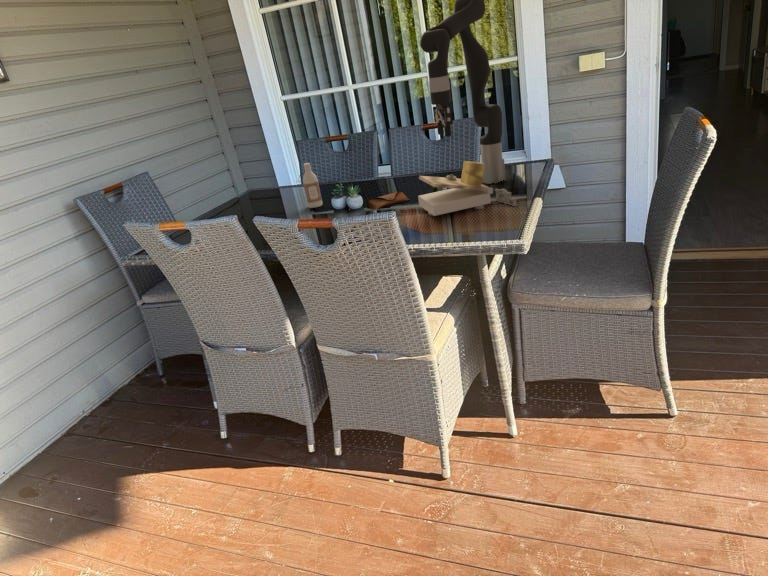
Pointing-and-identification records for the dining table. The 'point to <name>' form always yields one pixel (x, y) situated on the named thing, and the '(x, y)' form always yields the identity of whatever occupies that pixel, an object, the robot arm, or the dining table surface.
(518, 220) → the dining table surface
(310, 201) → the tan bottle
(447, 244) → the dining table surface
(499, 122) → the robot arm
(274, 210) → the dining table surface
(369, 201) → the sunglasses case
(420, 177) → the instrument plate
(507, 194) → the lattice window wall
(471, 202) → the base
